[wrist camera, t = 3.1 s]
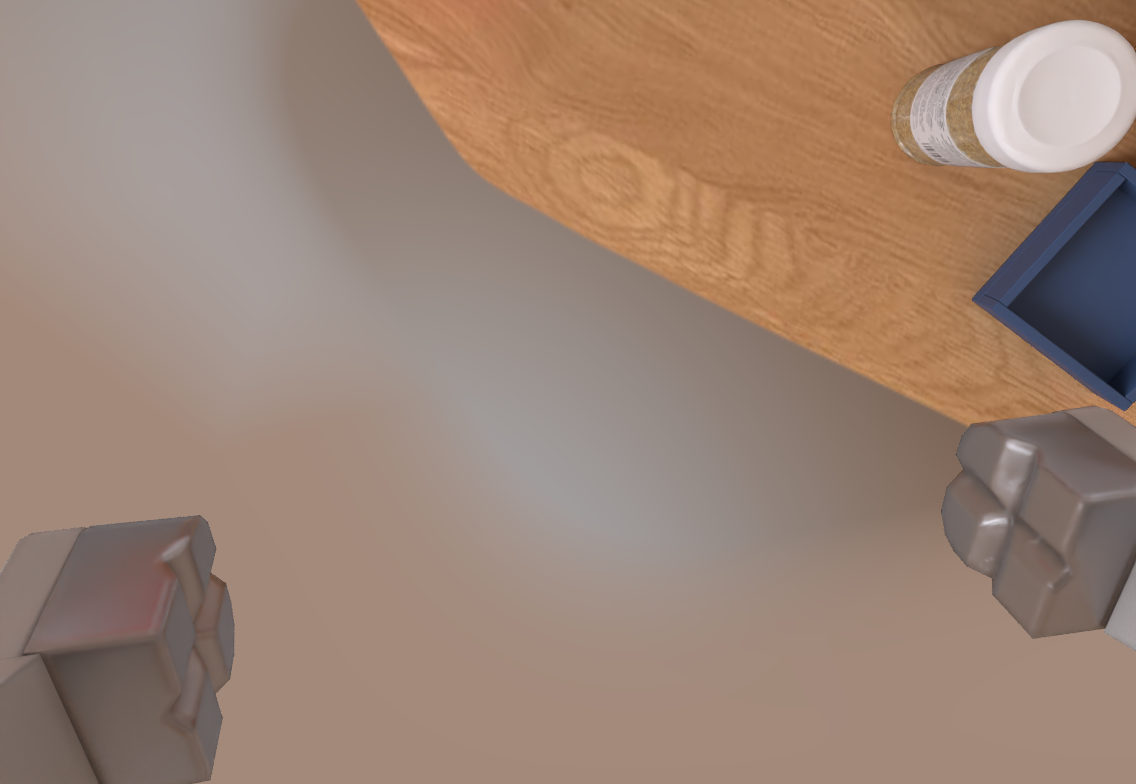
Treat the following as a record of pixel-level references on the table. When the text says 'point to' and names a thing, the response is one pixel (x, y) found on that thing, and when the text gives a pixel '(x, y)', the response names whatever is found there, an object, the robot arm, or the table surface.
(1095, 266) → the blue tray
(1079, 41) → the spice jar
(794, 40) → the table surface
